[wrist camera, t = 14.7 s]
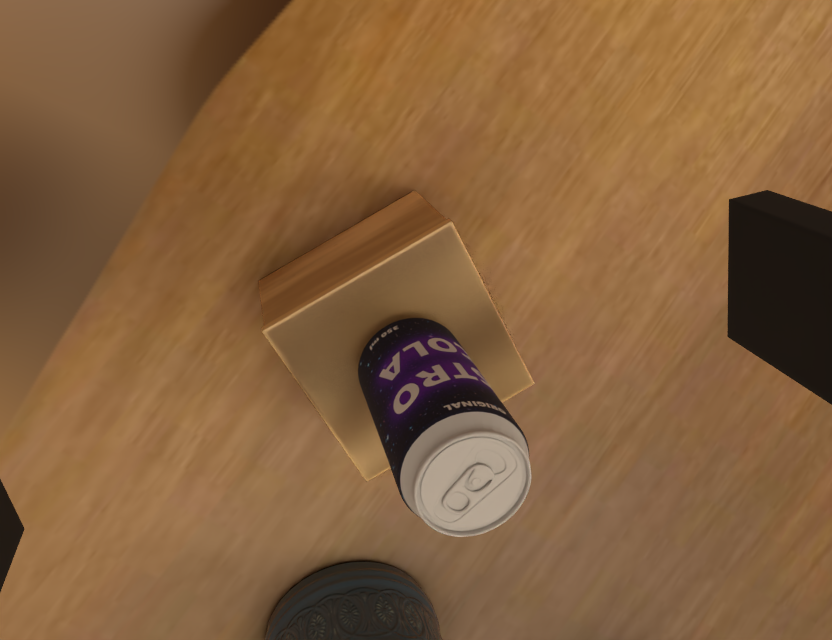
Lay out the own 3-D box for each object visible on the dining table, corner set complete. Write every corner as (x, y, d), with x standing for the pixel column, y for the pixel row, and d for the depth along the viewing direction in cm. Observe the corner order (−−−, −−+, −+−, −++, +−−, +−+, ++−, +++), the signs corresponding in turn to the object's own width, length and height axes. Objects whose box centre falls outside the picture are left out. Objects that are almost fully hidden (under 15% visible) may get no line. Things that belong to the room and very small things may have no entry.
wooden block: (255, 280, 45) (261, 331, 38) (415, 187, 45) (451, 220, 38) (345, 414, 50) (366, 482, 43) (490, 330, 50) (535, 383, 43)
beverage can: (477, 347, 41) (568, 467, 30) (412, 423, 42) (478, 565, 31) (401, 291, 39) (469, 398, 28) (333, 372, 40) (375, 507, 29)
